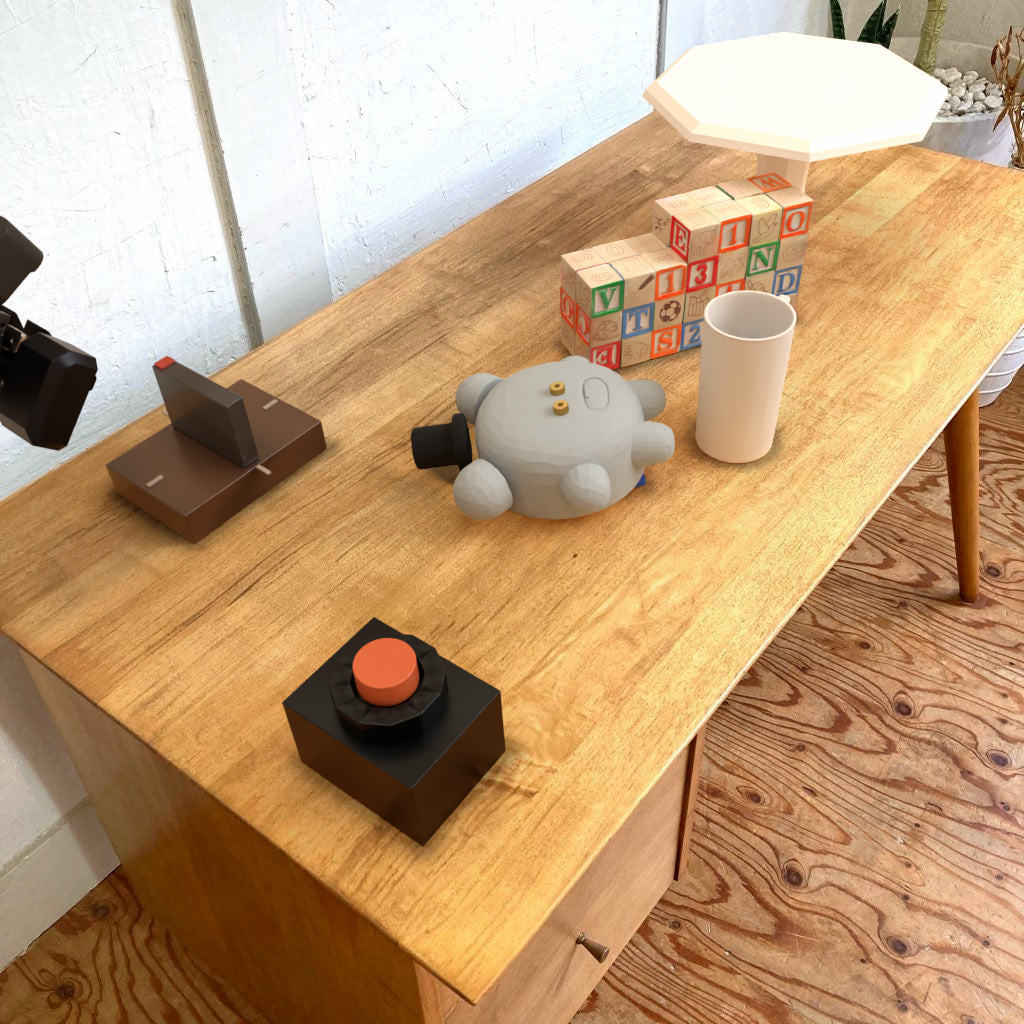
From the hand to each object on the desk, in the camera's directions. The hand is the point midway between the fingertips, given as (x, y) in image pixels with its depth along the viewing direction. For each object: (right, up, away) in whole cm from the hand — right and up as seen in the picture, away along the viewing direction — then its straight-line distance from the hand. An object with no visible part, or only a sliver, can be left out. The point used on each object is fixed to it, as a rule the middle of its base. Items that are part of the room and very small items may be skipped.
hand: (91, 382), depth 74 cm
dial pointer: (+6, -4, +10) cm, 12 cm away
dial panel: (+6, -6, +12) cm, 14 cm away
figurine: (+32, -6, +10) cm, 34 cm away
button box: (+23, -24, -9) cm, 35 cm away
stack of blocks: (+45, +7, +23) cm, 52 cm away
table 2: (+57, +18, +34) cm, 69 cm away
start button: (+23, -19, -14) cm, 33 cm away
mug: (+49, -3, +13) cm, 51 cm away
